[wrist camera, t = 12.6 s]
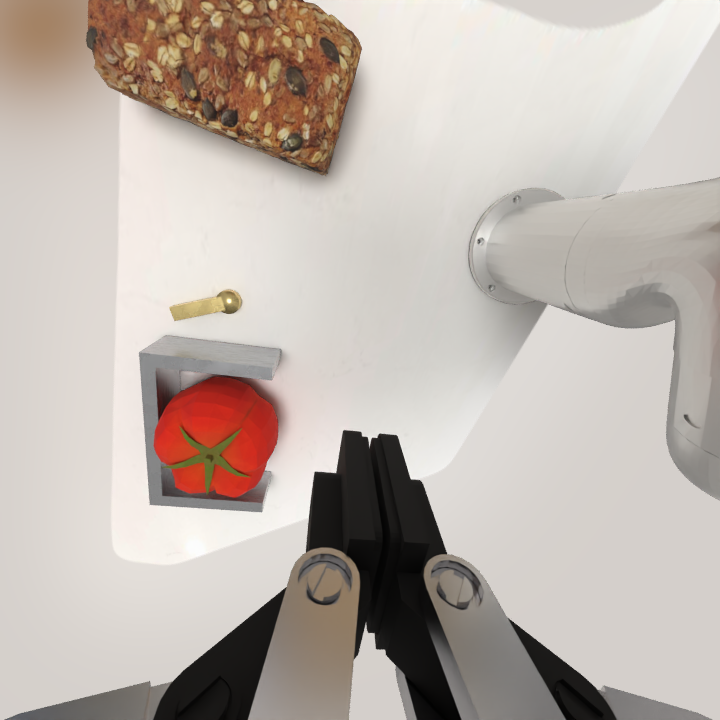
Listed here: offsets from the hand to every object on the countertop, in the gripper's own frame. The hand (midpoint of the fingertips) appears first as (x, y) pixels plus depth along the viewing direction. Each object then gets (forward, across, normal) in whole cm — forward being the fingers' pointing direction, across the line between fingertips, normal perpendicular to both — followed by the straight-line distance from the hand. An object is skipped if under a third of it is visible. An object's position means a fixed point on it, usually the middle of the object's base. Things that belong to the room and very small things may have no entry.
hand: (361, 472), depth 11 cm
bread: (+32, +11, -18) cm, 39 cm away
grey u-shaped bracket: (+32, +12, +18) cm, 39 cm away
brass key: (+32, +16, +4) cm, 36 cm away
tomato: (+32, +12, +18) cm, 39 cm away
